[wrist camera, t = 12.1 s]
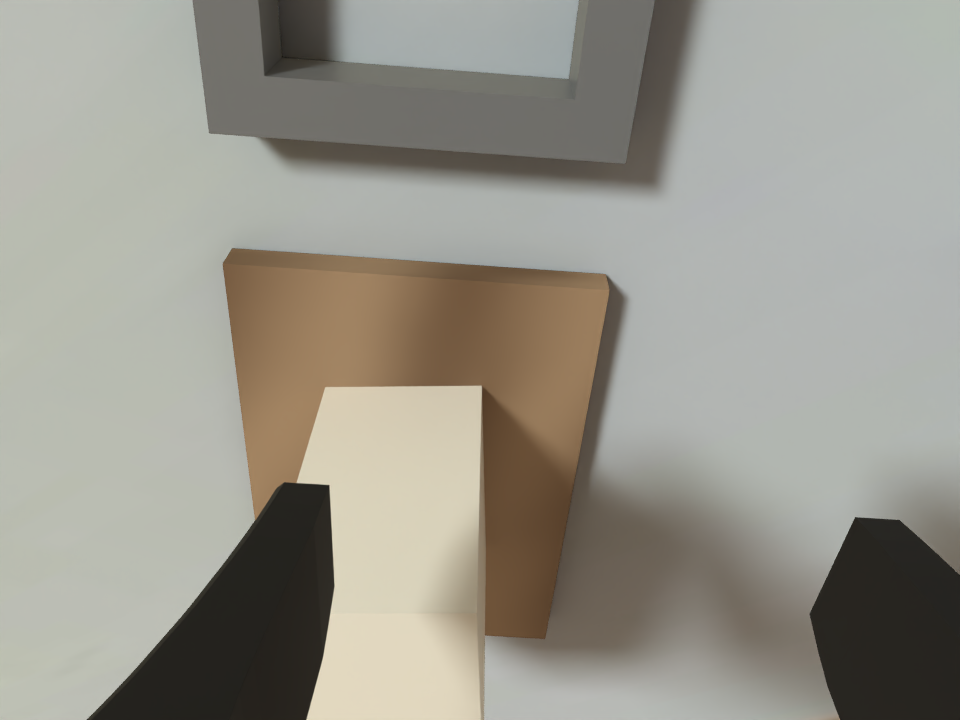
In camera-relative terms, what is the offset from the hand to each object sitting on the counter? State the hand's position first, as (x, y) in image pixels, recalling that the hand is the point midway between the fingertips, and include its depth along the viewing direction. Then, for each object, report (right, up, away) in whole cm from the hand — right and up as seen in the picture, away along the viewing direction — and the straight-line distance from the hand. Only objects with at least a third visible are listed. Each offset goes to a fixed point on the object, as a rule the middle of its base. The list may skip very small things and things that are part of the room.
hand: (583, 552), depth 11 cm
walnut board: (-3, 0, +12) cm, 12 cm away
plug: (-3, 0, +11) cm, 11 cm away
